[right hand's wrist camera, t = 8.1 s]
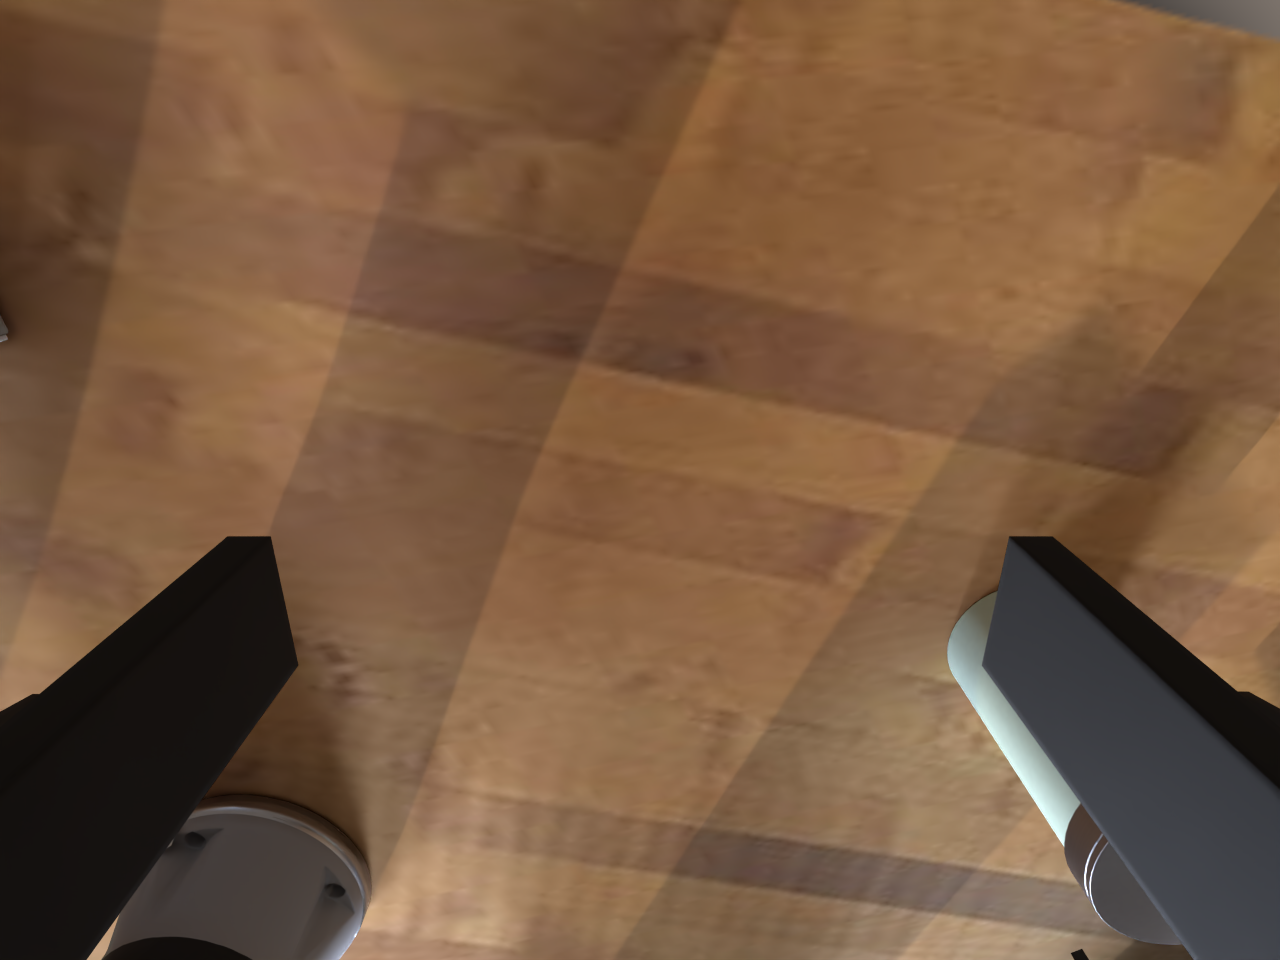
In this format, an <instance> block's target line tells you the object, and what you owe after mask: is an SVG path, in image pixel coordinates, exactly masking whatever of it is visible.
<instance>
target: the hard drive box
mask: <svg viewBox="0 0 1280 960" xmlns="http://www.w3.org/2000/svg"><path fill="white" fill-rule="evenodd" d="M7 333H8V329H7V327H6V325H5V324H4V322H3V319H2V317H1V315H0V342H2V341H5V340H7V339H8V338H7V336H6V334H7Z"/></svg>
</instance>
